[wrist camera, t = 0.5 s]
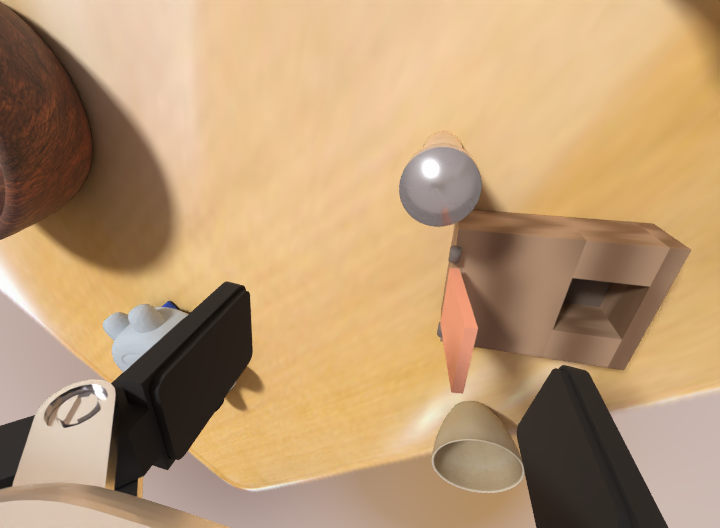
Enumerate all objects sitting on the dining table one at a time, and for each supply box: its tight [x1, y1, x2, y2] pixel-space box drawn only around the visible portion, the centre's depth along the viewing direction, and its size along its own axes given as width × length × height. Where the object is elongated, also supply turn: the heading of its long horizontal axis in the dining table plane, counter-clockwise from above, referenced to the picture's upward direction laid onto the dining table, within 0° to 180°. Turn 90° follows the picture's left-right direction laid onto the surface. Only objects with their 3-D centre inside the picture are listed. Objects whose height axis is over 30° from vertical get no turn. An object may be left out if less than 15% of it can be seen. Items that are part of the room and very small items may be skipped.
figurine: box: [103, 301, 237, 412], centre depth 47 cm, size 17×8×20 cm
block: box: [437, 210, 691, 370], centre depth 29 cm, size 16×12×6 cm
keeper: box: [440, 268, 478, 393], centre depth 25 cm, size 8×6×1 cm
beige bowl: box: [432, 401, 525, 493], centre depth 40 cm, size 10×10×7 cm
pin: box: [399, 131, 482, 227], centre depth 24 cm, size 5×5×12 cm
